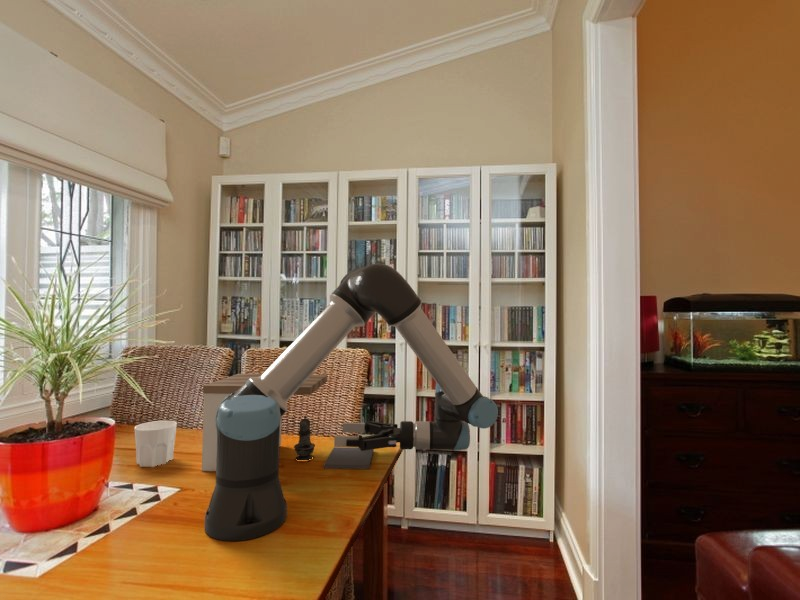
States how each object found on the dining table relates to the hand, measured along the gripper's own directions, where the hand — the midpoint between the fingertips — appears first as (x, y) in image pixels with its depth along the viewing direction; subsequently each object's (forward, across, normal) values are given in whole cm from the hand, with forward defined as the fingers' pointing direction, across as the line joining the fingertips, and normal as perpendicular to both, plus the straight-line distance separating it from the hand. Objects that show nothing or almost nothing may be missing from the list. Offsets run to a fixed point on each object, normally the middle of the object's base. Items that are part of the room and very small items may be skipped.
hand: (338, 434), depth 116 cm
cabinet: (+20, 0, -7) cm, 21 cm away
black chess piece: (+10, 0, -7) cm, 12 cm away
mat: (-3, 0, -7) cm, 8 cm away
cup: (+50, -5, -7) cm, 50 cm away
